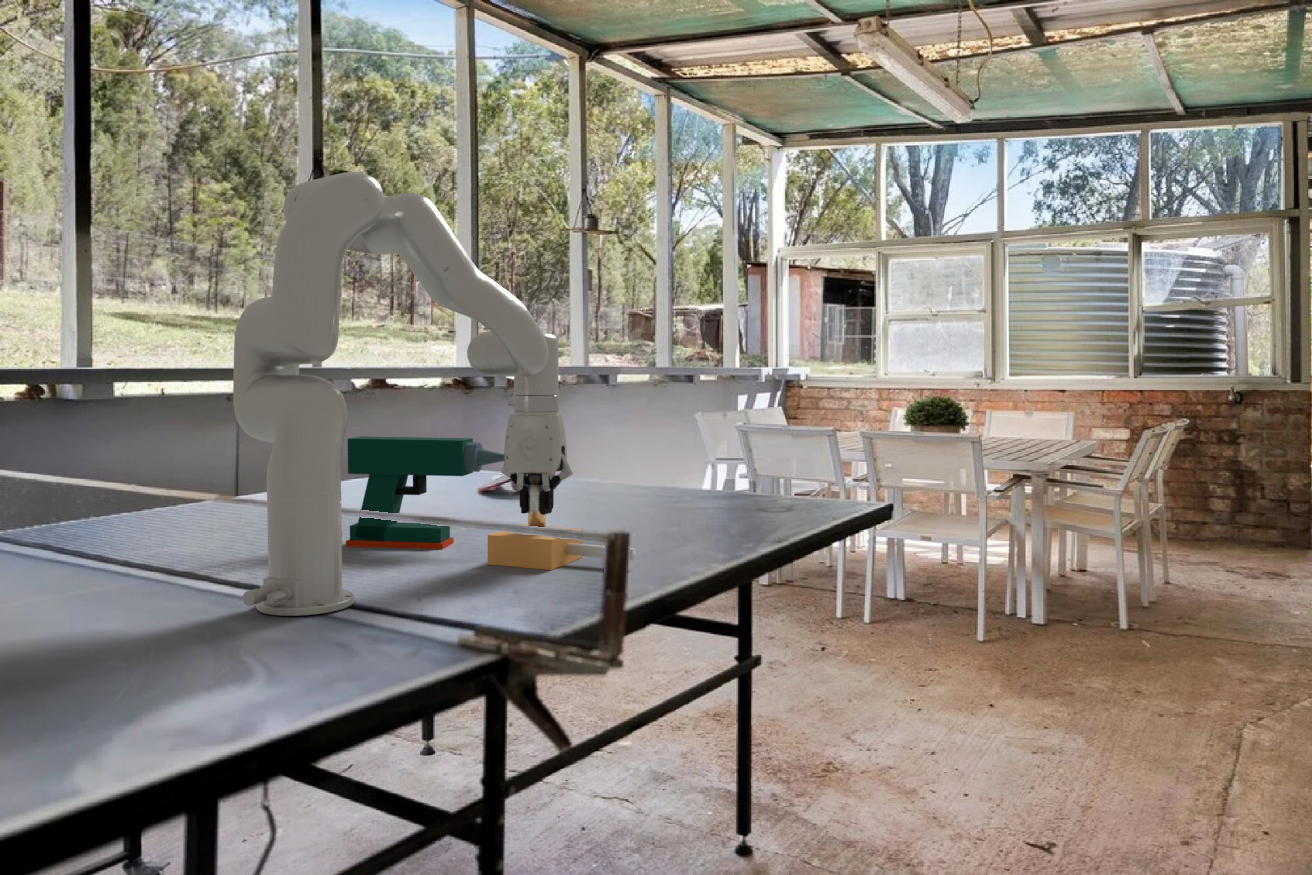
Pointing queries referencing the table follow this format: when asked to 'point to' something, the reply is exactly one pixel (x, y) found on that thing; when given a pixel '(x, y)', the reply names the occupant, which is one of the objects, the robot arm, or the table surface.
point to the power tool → (388, 486)
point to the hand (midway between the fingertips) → (536, 512)
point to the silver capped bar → (535, 500)
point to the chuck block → (539, 550)
